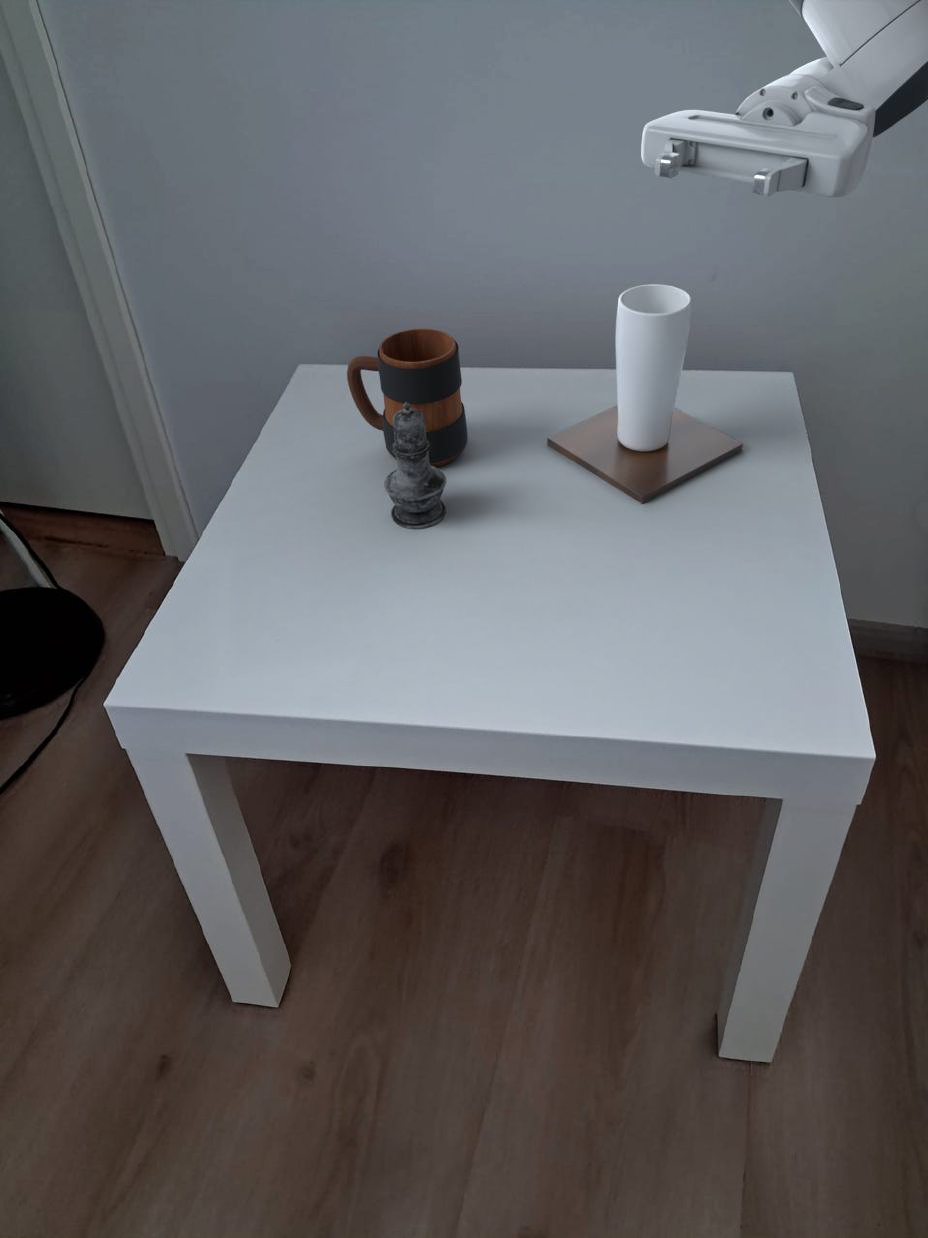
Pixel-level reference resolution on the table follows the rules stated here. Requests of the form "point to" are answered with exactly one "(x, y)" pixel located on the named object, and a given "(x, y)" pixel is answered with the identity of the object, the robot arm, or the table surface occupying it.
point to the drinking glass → (649, 362)
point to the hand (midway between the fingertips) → (710, 176)
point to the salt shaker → (414, 474)
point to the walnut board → (644, 453)
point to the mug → (416, 389)
